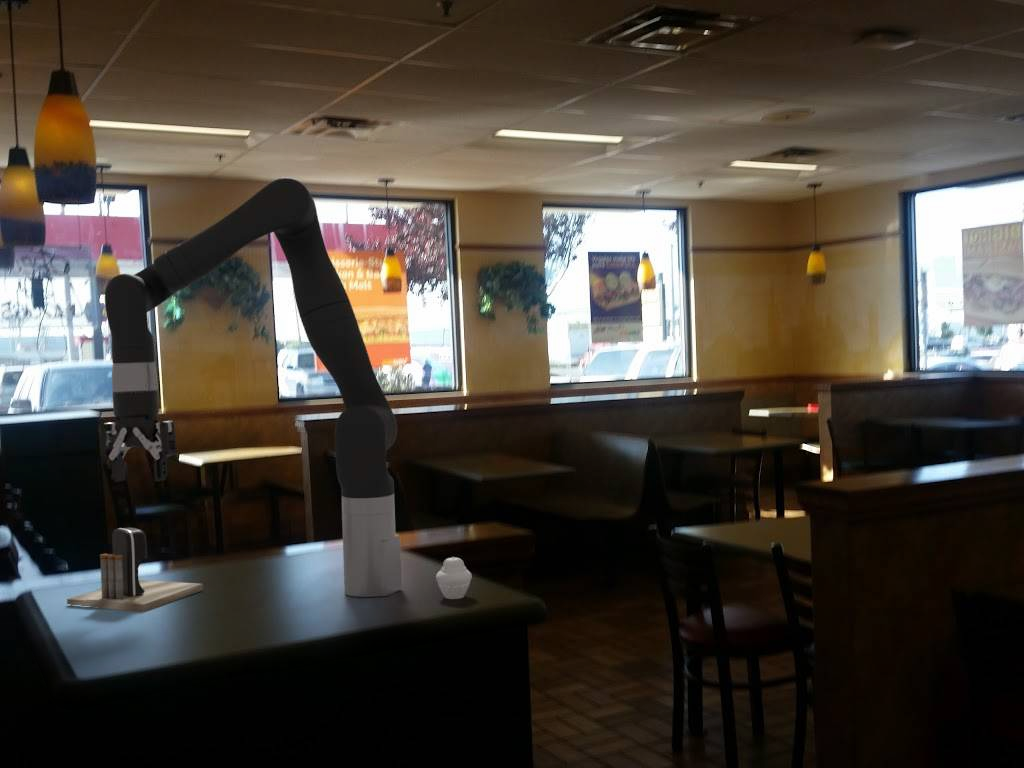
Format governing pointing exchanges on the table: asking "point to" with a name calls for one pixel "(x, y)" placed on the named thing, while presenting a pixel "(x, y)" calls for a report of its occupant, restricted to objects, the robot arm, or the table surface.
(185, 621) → the table surface
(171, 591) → the board
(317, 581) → the table surface
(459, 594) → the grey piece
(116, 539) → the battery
